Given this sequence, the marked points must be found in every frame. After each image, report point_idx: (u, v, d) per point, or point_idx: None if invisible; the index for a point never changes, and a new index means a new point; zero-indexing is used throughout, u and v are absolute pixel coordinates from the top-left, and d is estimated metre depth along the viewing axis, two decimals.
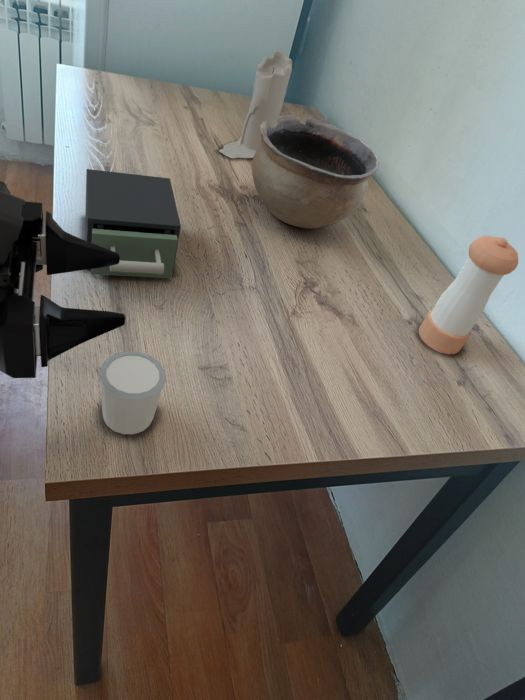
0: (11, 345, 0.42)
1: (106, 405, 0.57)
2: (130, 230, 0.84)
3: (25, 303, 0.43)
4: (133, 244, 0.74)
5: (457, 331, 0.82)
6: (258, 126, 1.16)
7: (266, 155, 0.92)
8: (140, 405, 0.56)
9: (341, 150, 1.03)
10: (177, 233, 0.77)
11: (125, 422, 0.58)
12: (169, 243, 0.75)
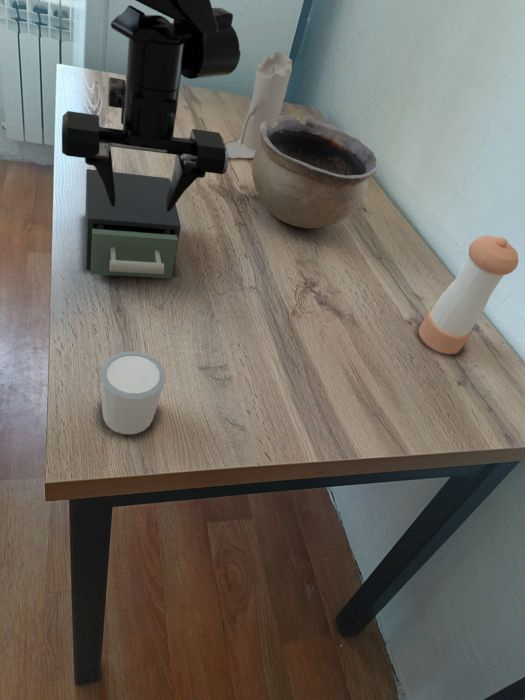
0: None
1: (106, 405, 0.57)
2: (130, 230, 0.84)
3: None
4: (133, 244, 0.74)
5: (457, 331, 0.82)
6: (258, 126, 1.16)
7: (266, 155, 0.92)
8: (140, 405, 0.56)
9: (341, 150, 1.03)
10: (177, 233, 0.77)
11: (125, 422, 0.58)
12: (169, 243, 0.75)
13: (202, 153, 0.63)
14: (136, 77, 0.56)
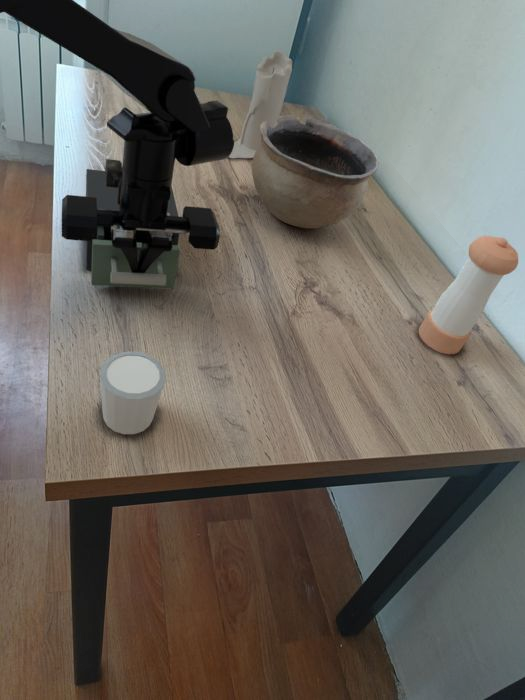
0: None
1: (106, 405, 0.57)
2: None
3: None
4: None
5: (457, 331, 0.82)
6: (258, 126, 1.16)
7: (266, 155, 0.92)
8: (140, 405, 0.56)
9: (341, 150, 1.03)
10: (177, 233, 0.77)
11: (125, 422, 0.58)
12: (171, 253, 0.74)
13: (194, 232, 0.66)
14: (130, 168, 0.59)
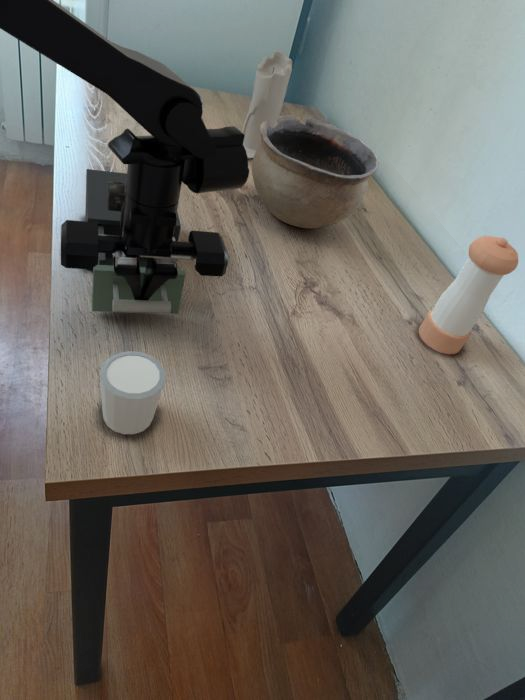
0: None
1: (106, 405, 0.57)
2: None
3: None
4: None
5: (457, 331, 0.82)
6: (258, 126, 1.16)
7: (266, 155, 0.92)
8: (140, 405, 0.56)
9: (341, 150, 1.03)
10: (177, 233, 0.77)
11: (125, 422, 0.58)
12: (175, 278, 0.70)
13: (201, 259, 0.62)
14: (131, 192, 0.56)
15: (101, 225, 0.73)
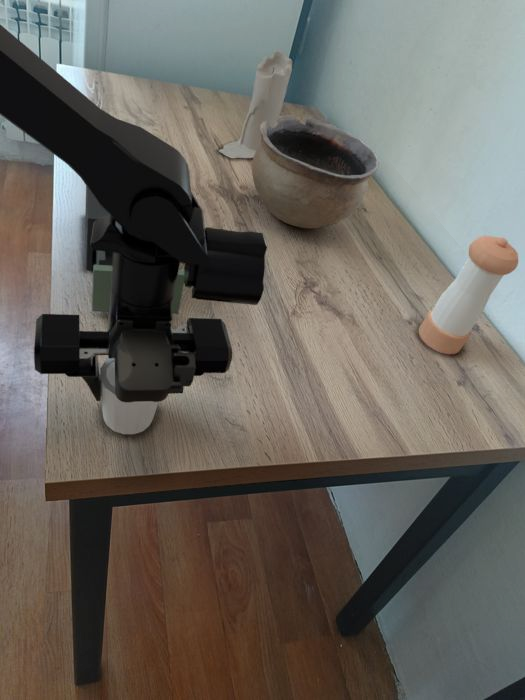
0: None
1: (106, 405, 0.57)
2: None
3: (68, 369, 0.50)
4: None
5: (457, 331, 0.82)
6: (258, 126, 1.16)
7: (266, 155, 0.92)
8: (140, 405, 0.56)
9: (341, 150, 1.03)
10: None
11: (125, 422, 0.58)
12: None
13: None
14: (112, 281, 0.47)
15: None
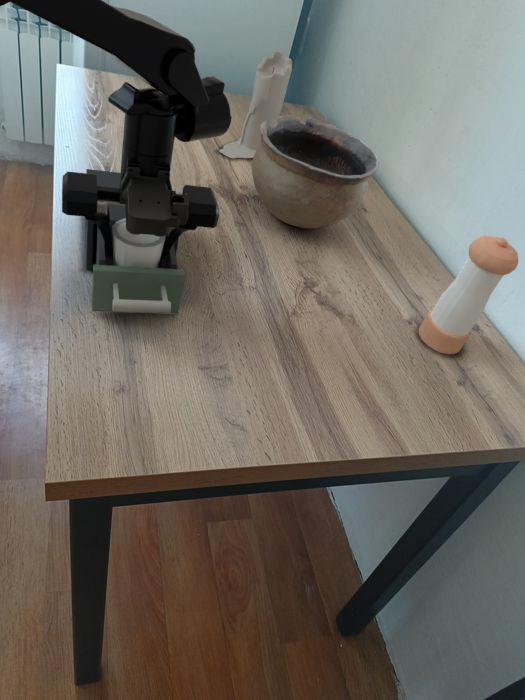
0: None
1: (117, 257, 0.70)
2: None
3: (88, 212, 0.63)
4: (137, 280, 0.69)
5: (457, 331, 0.82)
6: (258, 126, 1.16)
7: (266, 155, 0.92)
8: (145, 255, 0.69)
9: (341, 150, 1.03)
10: None
11: None
12: (175, 278, 0.70)
13: None
14: (131, 144, 0.60)
15: None
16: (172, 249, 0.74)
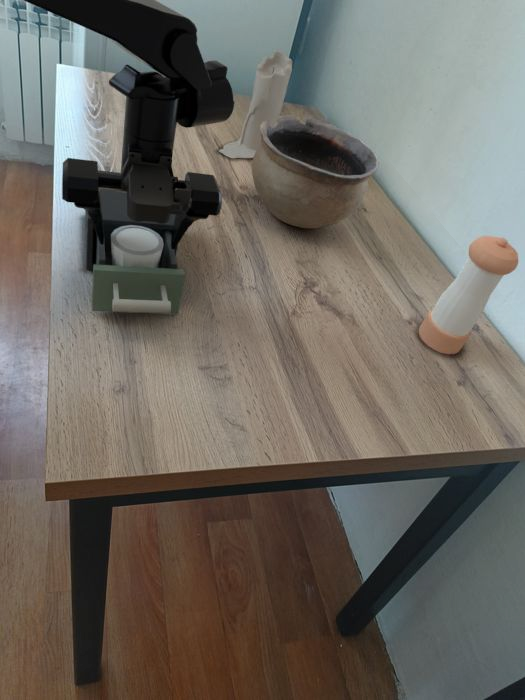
0: None
1: (116, 265, 0.71)
2: None
3: (89, 198, 0.62)
4: (137, 279, 0.69)
5: (457, 331, 0.82)
6: (258, 126, 1.16)
7: (266, 155, 0.92)
8: (144, 262, 0.70)
9: (341, 150, 1.03)
10: None
11: None
12: (175, 278, 0.70)
13: None
14: (133, 129, 0.59)
15: None
16: (172, 249, 0.74)
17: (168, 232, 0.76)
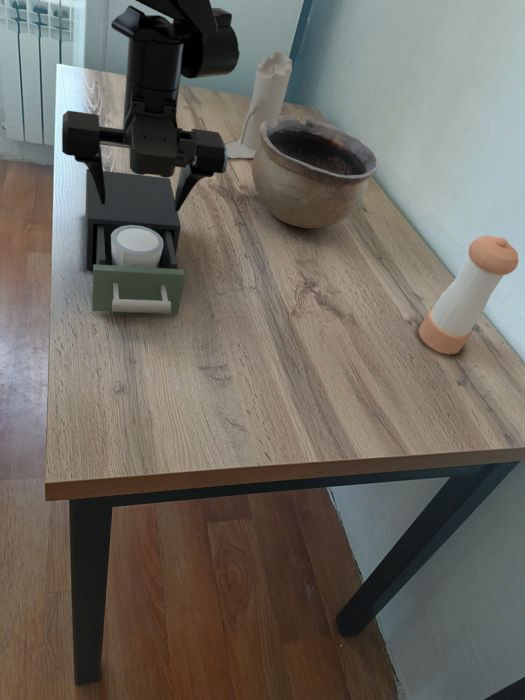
0: None
1: (116, 265, 0.71)
2: None
3: (89, 152, 0.60)
4: (137, 279, 0.69)
5: (457, 331, 0.82)
6: (258, 126, 1.16)
7: (266, 155, 0.92)
8: (144, 262, 0.70)
9: (341, 150, 1.03)
10: (177, 233, 0.77)
11: None
12: (175, 278, 0.70)
13: None
14: (136, 77, 0.56)
15: (101, 225, 0.74)
16: (172, 249, 0.74)
17: (168, 232, 0.76)
